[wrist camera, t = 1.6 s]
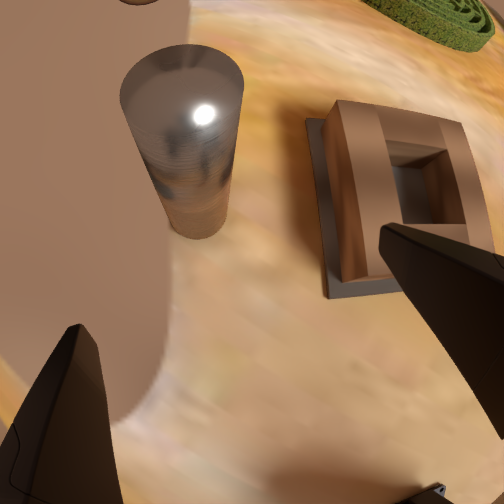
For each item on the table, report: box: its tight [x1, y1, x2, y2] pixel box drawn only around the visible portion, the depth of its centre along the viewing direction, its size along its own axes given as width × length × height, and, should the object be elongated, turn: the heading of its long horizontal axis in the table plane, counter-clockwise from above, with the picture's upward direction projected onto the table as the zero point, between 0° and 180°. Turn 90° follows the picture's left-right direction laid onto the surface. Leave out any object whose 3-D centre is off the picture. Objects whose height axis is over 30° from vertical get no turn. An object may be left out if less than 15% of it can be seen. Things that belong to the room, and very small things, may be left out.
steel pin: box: [120, 44, 244, 239], centre depth 15 cm, size 4×4×13 cm
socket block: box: [305, 100, 495, 299], centre depth 21 cm, size 14×14×4 cm
